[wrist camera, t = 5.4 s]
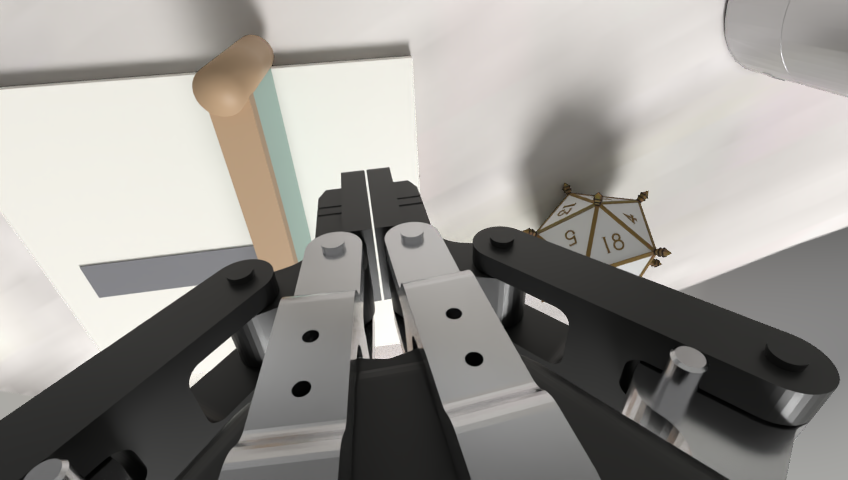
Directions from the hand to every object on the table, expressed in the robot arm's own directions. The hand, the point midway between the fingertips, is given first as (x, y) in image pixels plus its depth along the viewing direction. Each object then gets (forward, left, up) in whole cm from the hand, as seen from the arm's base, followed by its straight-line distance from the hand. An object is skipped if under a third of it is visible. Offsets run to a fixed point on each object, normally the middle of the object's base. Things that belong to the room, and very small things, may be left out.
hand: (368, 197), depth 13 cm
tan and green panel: (+3, -5, -12) cm, 13 cm away
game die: (+10, +14, -13) cm, 22 cm away
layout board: (+9, -9, -13) cm, 18 cm away
